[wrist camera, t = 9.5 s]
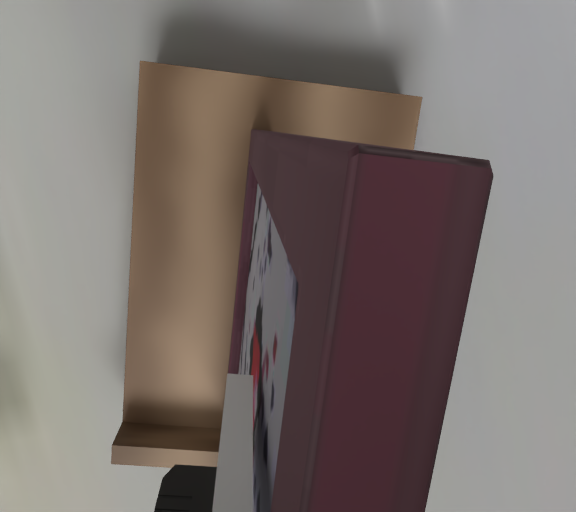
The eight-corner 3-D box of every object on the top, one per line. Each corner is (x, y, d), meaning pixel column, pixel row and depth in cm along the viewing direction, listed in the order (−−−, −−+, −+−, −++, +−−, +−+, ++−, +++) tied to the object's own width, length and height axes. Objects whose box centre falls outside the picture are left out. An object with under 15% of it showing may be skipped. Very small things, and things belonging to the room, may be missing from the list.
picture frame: (251, 128, 28) (229, 130, 4) (428, 149, 29) (1342, 260, 5) (224, 408, 32) (126, 1305, 8) (381, 419, 33) (746, 1257, 8)
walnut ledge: (401, 100, 32) (437, 94, 26) (350, 421, 37) (369, 479, 31) (154, 69, 31) (128, 54, 25) (136, 405, 36) (111, 463, 30)
